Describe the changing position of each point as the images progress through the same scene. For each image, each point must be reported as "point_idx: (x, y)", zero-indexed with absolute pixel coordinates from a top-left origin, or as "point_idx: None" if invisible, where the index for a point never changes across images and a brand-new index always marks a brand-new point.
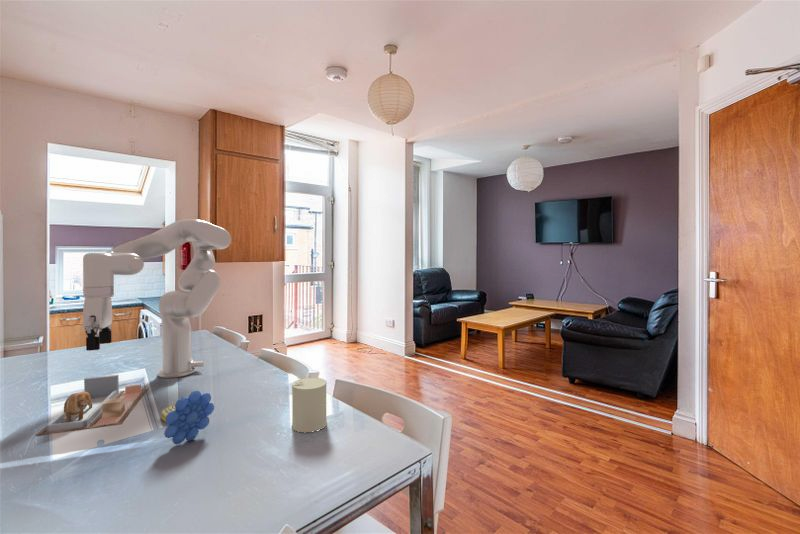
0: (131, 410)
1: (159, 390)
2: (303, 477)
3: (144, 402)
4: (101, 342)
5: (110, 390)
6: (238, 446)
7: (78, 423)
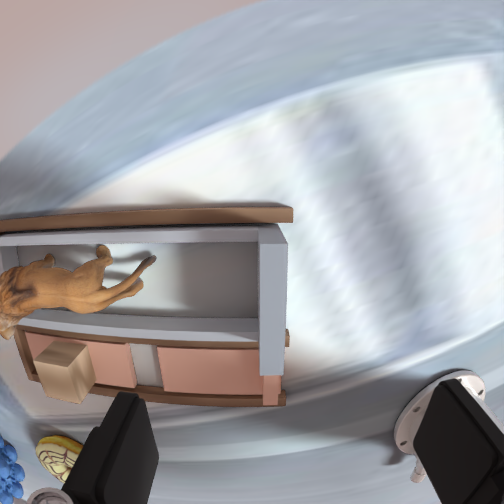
0: (95, 393)
1: (285, 421)
2: None
3: (181, 405)
4: (433, 401)
5: (258, 320)
6: None
7: None
